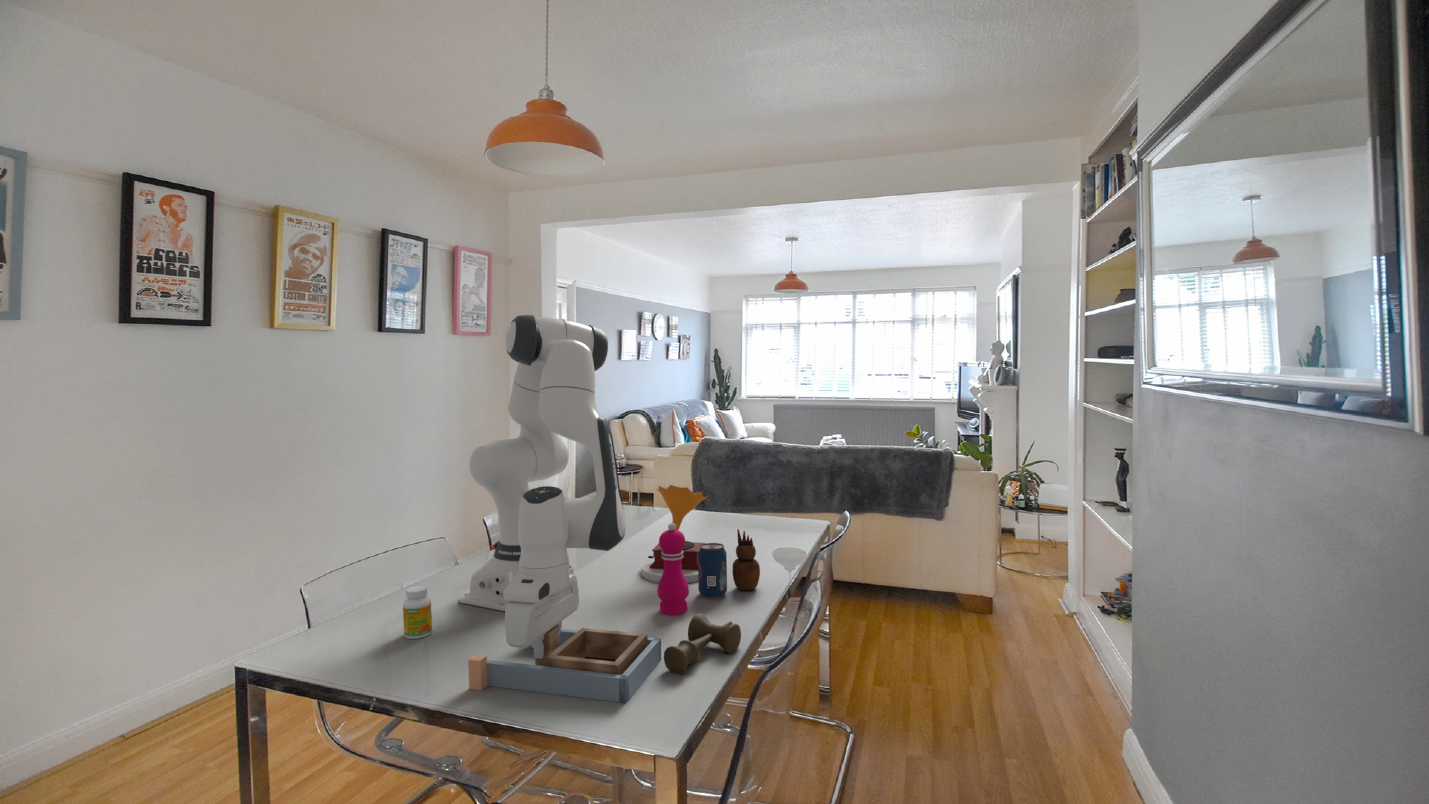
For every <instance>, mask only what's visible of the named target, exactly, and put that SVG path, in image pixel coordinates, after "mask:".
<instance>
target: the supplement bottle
mask: <svg viewBox="0 0 1429 804" xmlns="http://www.w3.org/2000/svg"><path fill="white" fill-rule="evenodd" d="M405 595H406V599H405V600H404V601H403V603H402V612H403V614H402V616H403V618H402V619H403V636H404V637H405V638H406V639H408V640H418V639H421V638H426V637H427V636H430V635H431V634H432V633H433V617H432V599H431V598H430V597H429V596H428V587H427V586H425V585H415V586H411V587H409V588H407V589H406V591H405Z"/></svg>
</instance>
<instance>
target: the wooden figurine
mask: <svg viewBox="0 0 1429 804" xmlns="http://www.w3.org/2000/svg"><path fill="white" fill-rule="evenodd" d="M756 553H757V551H756V547H755V545H754V542H753V538H752V537H751V538H750V535H749V534H747V536H746V531H745V530H743V532H742V536H741V532H740V529H739V528H737V546H736V548H735V555H736V559H734V560H733V563H732V579H733V582H734V585H735V587H736V588H737V589H738V590H740V591H744V592H745V591H746V592H747V591H754V590H756V588H757V587H758V585H759V581H760V576H761V574H760V573H761V567H760V564H759V561H758V560H757V559H755V557H756V555H757V554H756Z"/></svg>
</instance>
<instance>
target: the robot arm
mask: <svg viewBox="0 0 1429 804" xmlns="http://www.w3.org/2000/svg"><path fill="white" fill-rule="evenodd" d="M505 346H506V353H507V354H508V356H509V357H510V358H511V359H512V360H513V361H515V362H517V363H518V364H517V366H516V371H515V375H514V377H513V384H512V389H511V393H510V396H509V397H510V398H509V403H508V407H507V411H508V413H509V416H510V417H511V419H512V420H513V421H514V422H515V423H517V425H519V426H520V433H519V435H518V437H515V438H505V439H498V440H496V439H495V440H492V441H490V442H487V443H484V444H482V445H480V446H479V445H478V446H476V448H475V449H474V450H473V452H472V453H471V456H470V459H469V471H470V475H471V477H472V479H473V480H474V481H475V482H476V484H478V485H479V486H480V487H482V488H483V489H485V490H486V492H487V493H489V495H490V497H492V500H493V501H494V505H495V507H496V512H497V517H498V531H499V540H498V541H496V542H495V543H494V544H491V545H489V548H490V549H489V551H493V550H494V551H493V556H492V557H491V558H490V559H488V561H486V562H485V563H484V564H482V565H481V566H480V567H479V568H477V569H476V570H475V571H474V573H473V574H472V575H471V578H470V583H469V589H468V590H466V591H465V592H464V593H462V594H461V595H460V597H459V603H462V604H464V605H465V604H466V605H471V606H476V607H481V608H486V609H492V610H497V611H502V612H505V613H504V628H505V639H506V640H505V641H506V642H507V644H508V646H509V647H512V648H516V649H517V648H518V649H519V648H520V649H528V648H527V647H528V646H530V645H532V647H533V648H532V649H533V656H534V659H535V658H539V659H542V658H543V657H544V656H545V655H546V654H547V646H544V645H543V642H542V640H543V639H544V634H545V633H547V632H548V631H549V630H551V629H552V628H553V627H558V645H559V635H560V631H561V629H563V628H562V627H563V621H564V620H565V619H566V618H568V617H569V616H570V615H572V614H573V613H575V611H577V610H578V609H579V605H580V592H579V585H578V579H577V576H576V575H575V574H574V567H573V566H572V565H570V557H569V553H568V549H590V550H596V551H607V552H609V551H611V550H613V549H614V548H615V547H616V546H618V545H619V543H621V541H622V540H623V539H624V538H625V535H626V531H627V518H626V514H625V511H624V506H623V505H624V504H623V500H622V495H621V489H620V480H619V474H618V473H619V472H618V466H617V459H616V458H617V457H616V453H615V445H614V438H613V434H612V429H611V426H610V423H609V422H608V420H607V418H605V417H603V416H601V415H600V413H599V411H598V409H597V404H596V397H595V394H596V377H595V376H596V375H595V372H597V371H598V370H599V369H600V368H602V367H603V366H604V364H605V362H606V359H607V357H608V352H609V340H608V336H607V335H606V333H605V331H603V329H600V328H599V327H596V326H594V325H592V324H589V325H586V324H583V323H580V322H576V321H574V320H569V319H564V318H561V319H559V318H555V317H554V318H552V317H542V316H535V315H533V314H522V315H517V316H516V317H514V318H513V319H512V320H511V322H510V324H509V326H508V328H507V330H506V334H505ZM560 436H561V437H564V438H566V439H569V440H571V441H573V442H576V443H577V444H578V443H579V444H580V445H582V446H584V447H585V448H587V450H588V451H589V453H590V454H591V456H592V461H593V470H594V478H595V486H596V487H595V489H596V496H595V497H590V498H589V497H588V498H586V497H585V498H582V497H579V498H578V497H574V498H573V497H565V494H564V491H563V490H562V489H561V488H560V487H557V486H551V485H550V486H549V485H546V486H544V485H543V486H538V487H534V488H531V489H530V488H529V483H530V482H531V483H532V482H537V481H542V480H547V479H549V478H553V477H555V476H556V475H559V474H561V473H562V472H564V470H566V468H567V465H568V463H569V455H570V454H569V451H568V450H569V449H568V447H567V445H566V443H565V442H564V441H563V440H562V439H561V438H560Z"/></svg>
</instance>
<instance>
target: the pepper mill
mask: <svg viewBox="0 0 1429 804" xmlns="http://www.w3.org/2000/svg"><path fill="white" fill-rule="evenodd" d="M667 529H668V530H664V531H663V532H662V533H661V534H660V536H659V539H658V544H659V546H660V548H661V549H662V550H663V551H662V552H661V554H662V556H661V558H662V559H663V561H664V570H663V574H662V577H661V579H660V582H658V585H657V592H656V593H657V594H656V595H657V597H658V599H660V602H659V611H660V613H661V614H662V615H663V614H664V615H667V616H678V615H682V614H684V613H686V612H687V611H688V601H687V600H686V599H687V598H688V596H689V594H690V589H689V584H688V583H687V581H686V578H685V576H684V574H683V571H682V565H681V561H682V558H683V551H682V549H683V547H684V546H685V541H686V536H685V534H683V532H682V531H681V530H675V529H676V526H675V524H674V523H672V522H671V523H669V524H668V526H667Z"/></svg>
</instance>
